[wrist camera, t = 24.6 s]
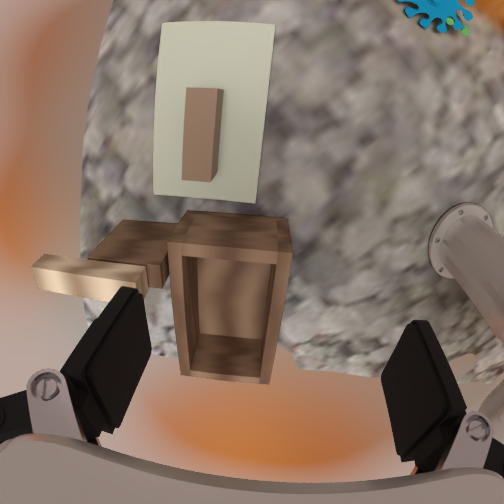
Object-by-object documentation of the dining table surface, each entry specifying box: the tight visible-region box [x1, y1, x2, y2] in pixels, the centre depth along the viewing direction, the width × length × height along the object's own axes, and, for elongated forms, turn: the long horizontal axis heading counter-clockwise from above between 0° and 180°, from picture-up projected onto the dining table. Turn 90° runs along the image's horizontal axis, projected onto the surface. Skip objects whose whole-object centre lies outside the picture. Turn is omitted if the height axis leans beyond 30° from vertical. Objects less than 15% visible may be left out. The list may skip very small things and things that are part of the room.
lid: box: [153, 21, 275, 203], centre depth 31 cm, size 13×22×6 cm, turn 174°
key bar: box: [31, 254, 149, 302], centre depth 30 cm, size 14×3×3 cm, turn 86°
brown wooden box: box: [88, 210, 293, 384], centre depth 40 cm, size 22×22×10 cm
